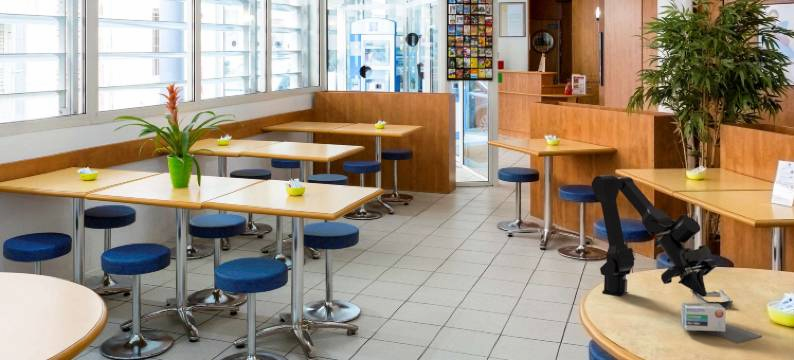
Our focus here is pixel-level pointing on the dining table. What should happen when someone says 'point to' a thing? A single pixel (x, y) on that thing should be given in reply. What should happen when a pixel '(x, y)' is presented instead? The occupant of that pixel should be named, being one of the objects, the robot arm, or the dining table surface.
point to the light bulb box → (703, 317)
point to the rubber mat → (735, 334)
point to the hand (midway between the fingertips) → (704, 296)
